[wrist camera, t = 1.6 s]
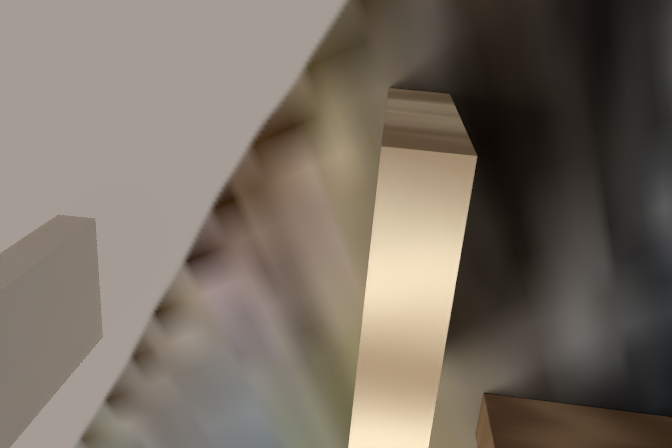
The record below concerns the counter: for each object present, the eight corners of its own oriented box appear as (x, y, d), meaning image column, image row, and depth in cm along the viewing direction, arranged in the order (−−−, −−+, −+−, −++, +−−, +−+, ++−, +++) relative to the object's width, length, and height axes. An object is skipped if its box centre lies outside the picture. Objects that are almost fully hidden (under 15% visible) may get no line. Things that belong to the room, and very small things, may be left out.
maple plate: (388, 87, 26) (381, 146, 16) (449, 93, 25) (477, 155, 16) (359, 355, 30) (340, 519, 21) (410, 362, 30) (414, 529, 21)
